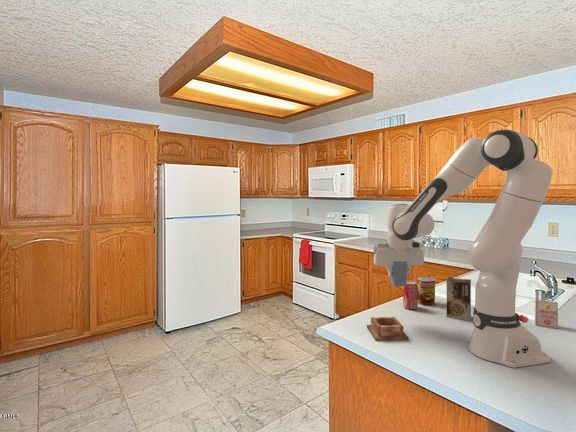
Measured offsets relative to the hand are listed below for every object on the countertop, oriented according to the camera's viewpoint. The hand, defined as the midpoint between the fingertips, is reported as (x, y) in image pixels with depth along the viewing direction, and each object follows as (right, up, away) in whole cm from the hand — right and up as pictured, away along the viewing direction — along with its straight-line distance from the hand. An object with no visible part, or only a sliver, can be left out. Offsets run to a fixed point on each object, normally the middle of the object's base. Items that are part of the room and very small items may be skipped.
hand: (398, 276), depth 134 cm
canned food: (+21, -18, +22) cm, 35 cm away
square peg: (0, -4, 0) cm, 4 cm away
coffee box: (+27, -19, +4) cm, 33 cm away
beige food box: (+56, -19, -6) cm, 60 cm away
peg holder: (-8, -20, -11) cm, 24 cm away
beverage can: (+11, -18, +16) cm, 27 cm away
